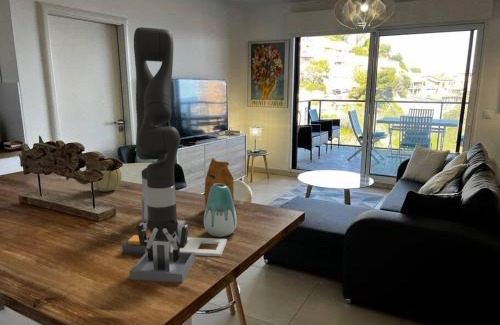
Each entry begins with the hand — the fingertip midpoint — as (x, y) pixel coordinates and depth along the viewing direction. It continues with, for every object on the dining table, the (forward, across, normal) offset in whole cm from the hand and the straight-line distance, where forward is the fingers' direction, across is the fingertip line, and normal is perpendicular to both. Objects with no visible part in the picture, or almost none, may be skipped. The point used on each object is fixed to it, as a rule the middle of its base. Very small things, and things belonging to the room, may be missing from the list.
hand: (164, 260), depth 101 cm
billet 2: (+4, -1, +15) cm, 16 cm away
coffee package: (+4, +5, +53) cm, 53 cm away
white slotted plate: (+4, +4, +15) cm, 16 cm away
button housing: (+4, -12, +11) cm, 17 cm away
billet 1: (+3, 0, 0) cm, 3 cm away
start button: (+1, -12, +11) cm, 16 cm away
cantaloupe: (+4, -56, +77) cm, 95 cm away
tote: (+4, 0, 0) cm, 4 cm away
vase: (+4, +10, +30) cm, 32 cm away
